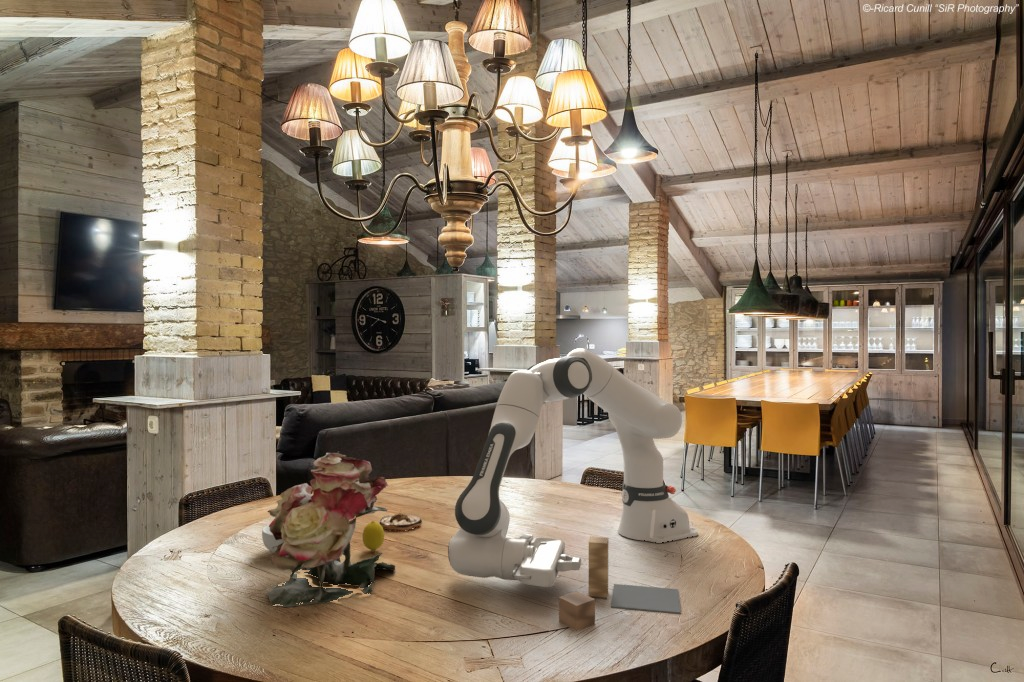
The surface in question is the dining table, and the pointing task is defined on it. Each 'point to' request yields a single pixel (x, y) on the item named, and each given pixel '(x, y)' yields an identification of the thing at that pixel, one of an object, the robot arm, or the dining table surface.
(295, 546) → the rose bouquet
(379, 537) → the lemon
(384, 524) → the cream pie
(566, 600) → the walnut cube
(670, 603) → the felt mat
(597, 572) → the oak block
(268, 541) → the cereal bowl
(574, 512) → the dining table surface
